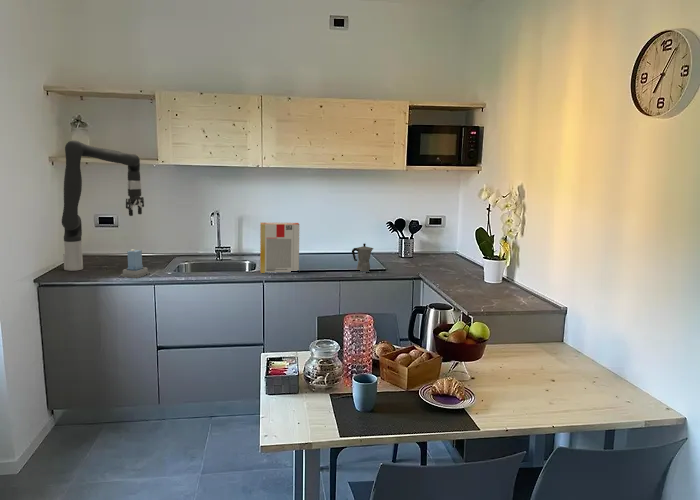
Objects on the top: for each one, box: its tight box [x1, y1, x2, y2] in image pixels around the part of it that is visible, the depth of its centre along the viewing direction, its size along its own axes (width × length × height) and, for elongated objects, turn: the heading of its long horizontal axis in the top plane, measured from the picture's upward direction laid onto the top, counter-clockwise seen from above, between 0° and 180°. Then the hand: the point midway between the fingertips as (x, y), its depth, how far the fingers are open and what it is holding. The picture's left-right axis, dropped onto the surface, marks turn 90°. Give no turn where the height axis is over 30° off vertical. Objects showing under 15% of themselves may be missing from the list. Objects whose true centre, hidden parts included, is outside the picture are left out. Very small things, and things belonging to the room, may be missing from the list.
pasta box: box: [259, 222, 300, 274], centre depth 328 cm, size 23×8×30 cm, turn 100°
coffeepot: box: [351, 242, 374, 271], centre depth 337 cm, size 15×9×18 cm, turn 119°
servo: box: [126, 249, 144, 271], centre depth 310 cm, size 5×9×14 cm, turn 166°
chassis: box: [120, 266, 151, 279], centre depth 311 cm, size 11×12×4 cm
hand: (135, 215), depth 327 cm, fingers open, 8 cm apart
